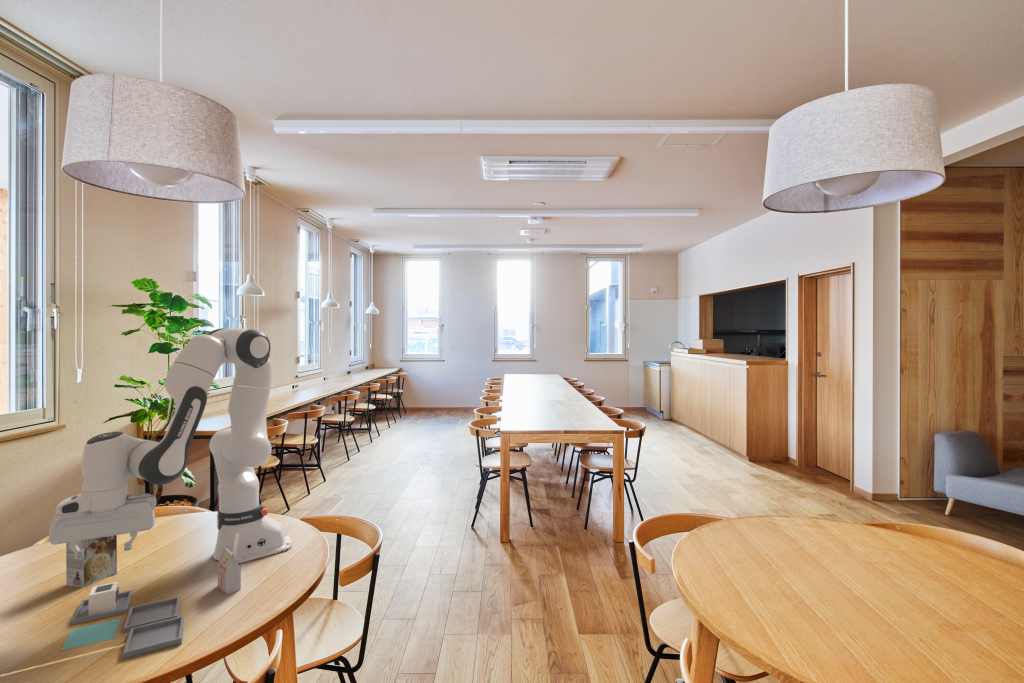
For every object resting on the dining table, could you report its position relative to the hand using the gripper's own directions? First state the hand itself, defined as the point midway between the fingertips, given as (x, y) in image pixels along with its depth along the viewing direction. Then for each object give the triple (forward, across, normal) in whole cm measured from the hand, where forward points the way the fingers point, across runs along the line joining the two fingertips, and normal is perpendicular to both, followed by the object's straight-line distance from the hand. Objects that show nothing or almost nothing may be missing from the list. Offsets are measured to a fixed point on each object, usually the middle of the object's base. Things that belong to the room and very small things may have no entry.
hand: (104, 553), depth 120 cm
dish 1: (+14, 0, 0) cm, 14 cm away
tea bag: (+14, -27, +3) cm, 31 cm away
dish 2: (+14, -11, +10) cm, 20 cm away
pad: (+14, 0, +12) cm, 19 cm away
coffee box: (+14, +6, -21) cm, 26 cm away
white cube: (+14, 0, 0) cm, 14 cm away
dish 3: (+14, -13, +21) cm, 28 cm away
